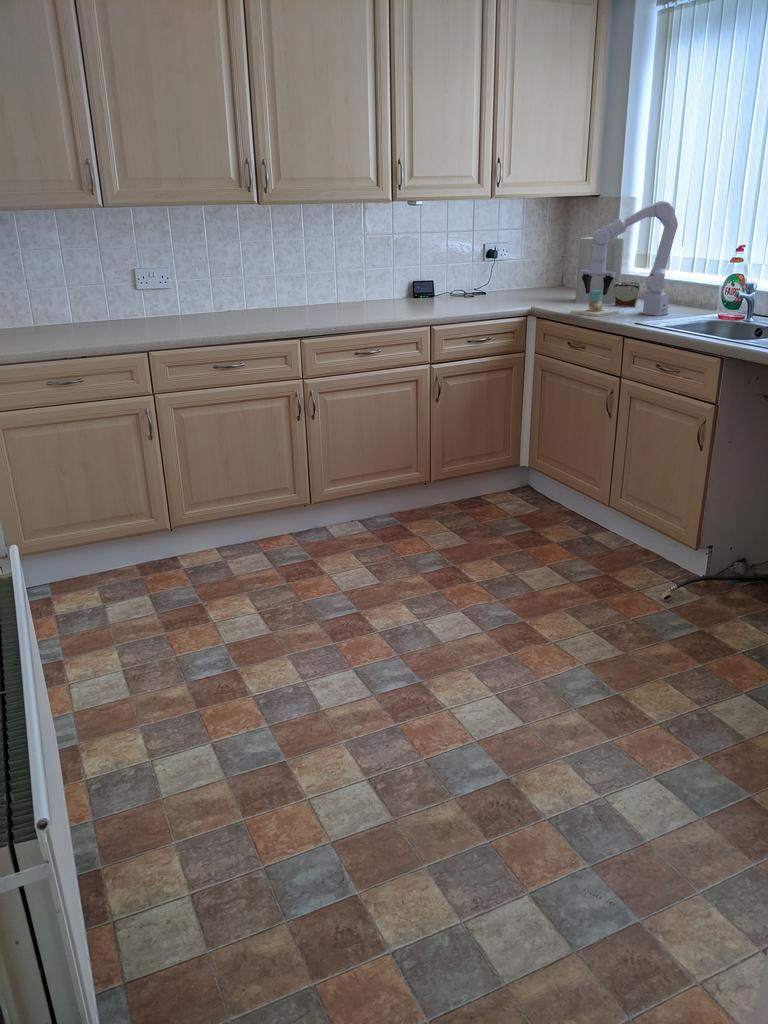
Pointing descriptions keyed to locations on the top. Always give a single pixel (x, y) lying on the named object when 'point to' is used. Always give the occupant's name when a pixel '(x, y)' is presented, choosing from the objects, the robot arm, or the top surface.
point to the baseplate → (594, 312)
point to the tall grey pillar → (612, 265)
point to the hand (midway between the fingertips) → (596, 293)
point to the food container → (626, 293)
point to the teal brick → (596, 295)
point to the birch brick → (595, 305)
